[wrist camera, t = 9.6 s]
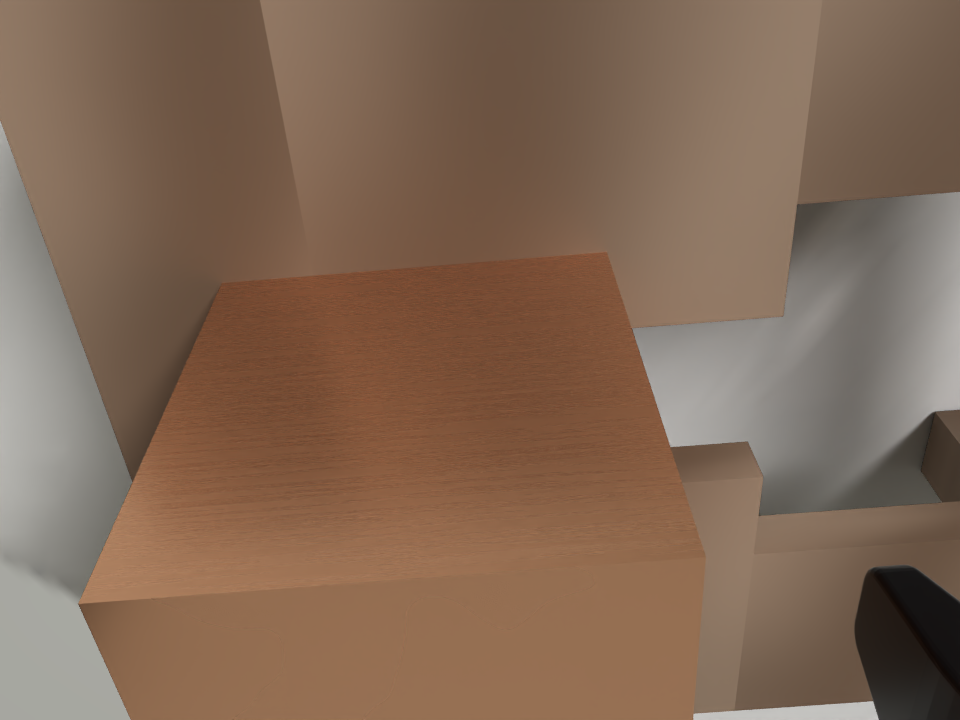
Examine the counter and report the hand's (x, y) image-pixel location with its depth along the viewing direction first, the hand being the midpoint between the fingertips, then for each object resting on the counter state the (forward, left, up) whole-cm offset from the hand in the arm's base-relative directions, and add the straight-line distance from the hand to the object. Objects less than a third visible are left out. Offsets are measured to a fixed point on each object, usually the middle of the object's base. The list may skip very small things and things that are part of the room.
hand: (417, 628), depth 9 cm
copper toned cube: (0, 0, -7) cm, 7 cm away
